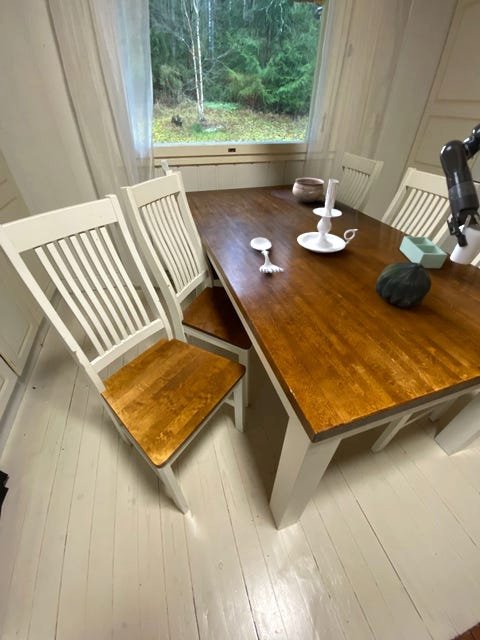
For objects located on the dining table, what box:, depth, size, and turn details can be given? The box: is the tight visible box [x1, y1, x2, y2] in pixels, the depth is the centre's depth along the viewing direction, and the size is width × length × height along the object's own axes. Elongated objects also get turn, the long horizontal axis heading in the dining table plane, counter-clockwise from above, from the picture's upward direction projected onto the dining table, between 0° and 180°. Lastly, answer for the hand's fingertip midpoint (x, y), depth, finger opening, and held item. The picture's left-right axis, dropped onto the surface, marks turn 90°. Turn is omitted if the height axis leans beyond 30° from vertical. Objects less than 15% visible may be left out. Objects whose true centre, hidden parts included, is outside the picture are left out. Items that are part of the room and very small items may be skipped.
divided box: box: [399, 235, 448, 269], centre depth 112 cm, size 9×17×6 cm, turn 177°
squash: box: [375, 261, 432, 309], centre depth 86 cm, size 14×15×15 cm
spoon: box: [250, 237, 284, 274], centre depth 111 cm, size 9×32×4 cm, turn 5°
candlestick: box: [296, 178, 358, 254], centre depth 112 cm, size 21×25×28 cm
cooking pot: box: [292, 177, 325, 204], centre depth 172 cm, size 25×19×12 cm
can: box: [449, 224, 480, 266], centre depth 93 cm, size 6×6×12 cm
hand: (472, 245), depth 92 cm, fingers closed on can, 6 cm apart
